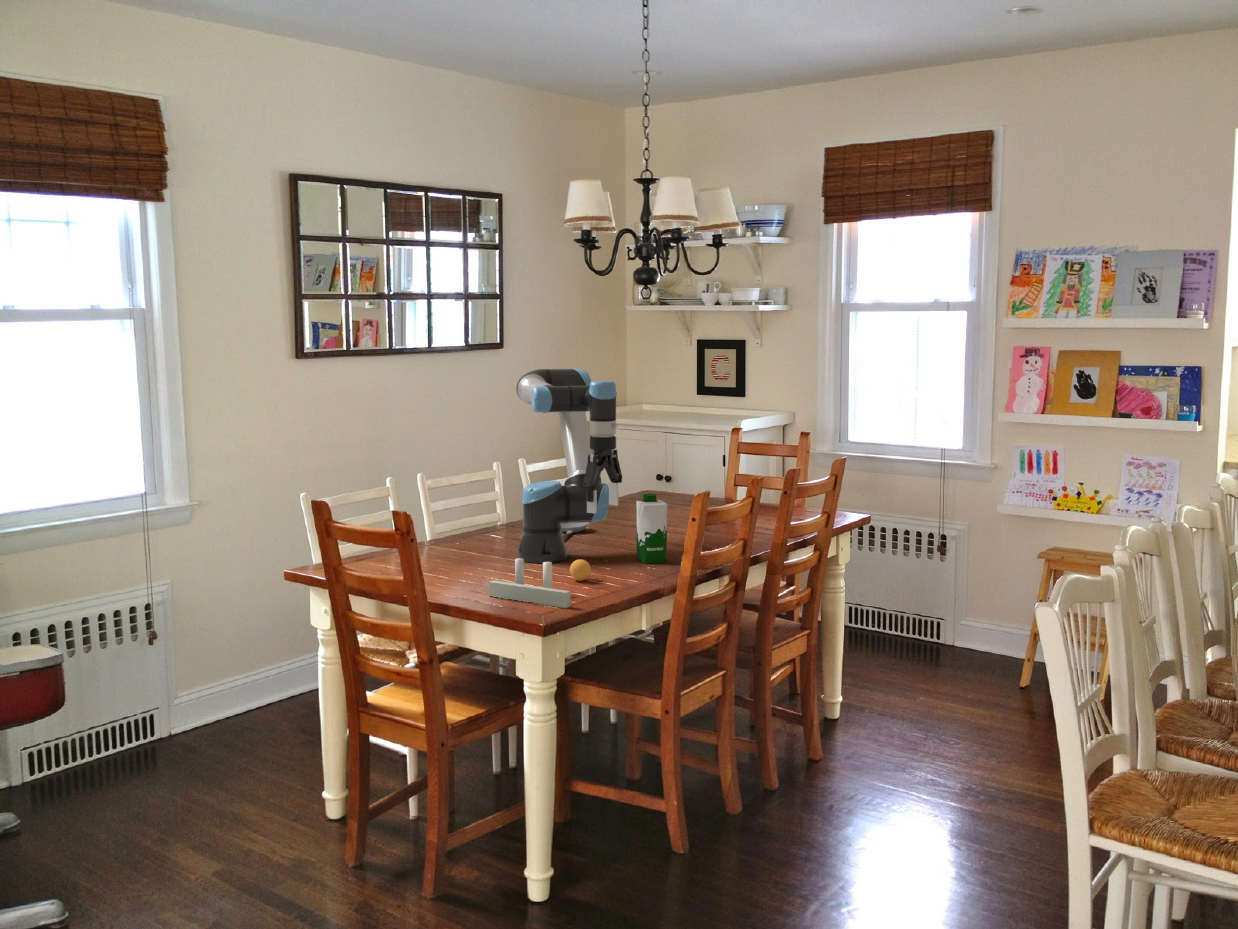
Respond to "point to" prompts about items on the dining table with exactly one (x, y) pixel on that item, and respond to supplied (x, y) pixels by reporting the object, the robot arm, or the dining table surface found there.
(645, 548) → the milk carton
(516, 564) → the grey pin
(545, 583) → the pin
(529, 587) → the wall
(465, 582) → the dining table surface
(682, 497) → the dining table surface
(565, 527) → the spoon
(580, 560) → the ball
